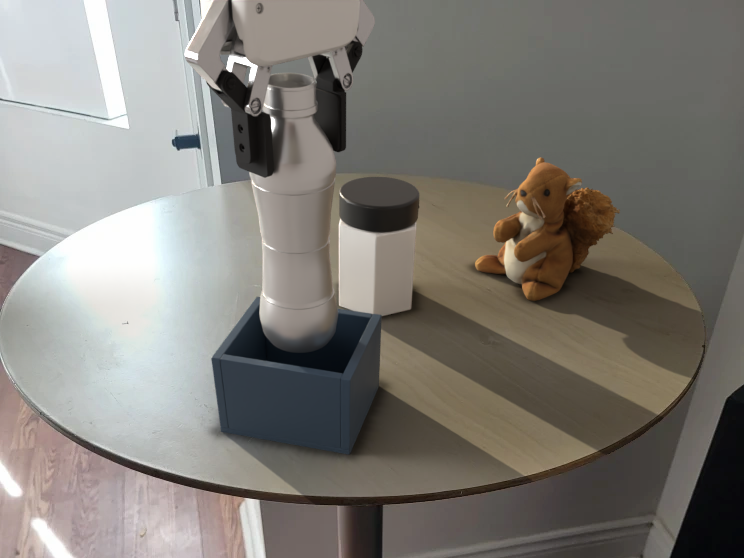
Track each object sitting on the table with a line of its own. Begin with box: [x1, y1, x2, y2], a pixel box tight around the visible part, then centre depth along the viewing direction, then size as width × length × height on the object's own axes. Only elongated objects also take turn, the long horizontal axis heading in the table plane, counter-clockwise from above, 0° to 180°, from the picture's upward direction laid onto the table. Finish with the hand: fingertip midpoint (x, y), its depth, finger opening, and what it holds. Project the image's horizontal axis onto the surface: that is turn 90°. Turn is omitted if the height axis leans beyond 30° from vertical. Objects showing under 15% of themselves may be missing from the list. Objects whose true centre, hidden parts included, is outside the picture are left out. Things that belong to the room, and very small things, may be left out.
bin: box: [210, 296, 383, 455], centre depth 68 cm, size 12×11×8 cm
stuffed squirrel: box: [474, 157, 621, 302], centre depth 87 cm, size 10×14×13 cm
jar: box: [338, 176, 420, 317], centre depth 82 cm, size 9×8×12 cm
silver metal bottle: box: [248, 72, 339, 353], centre depth 59 cm, size 6×7×20 cm
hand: (292, 156), depth 55 cm, fingers closed on silver metal bottle, 6 cm apart
